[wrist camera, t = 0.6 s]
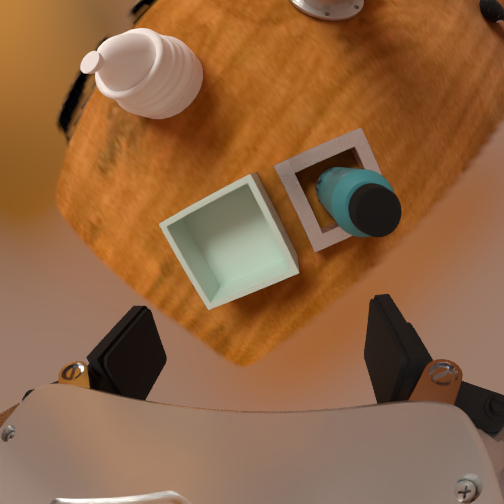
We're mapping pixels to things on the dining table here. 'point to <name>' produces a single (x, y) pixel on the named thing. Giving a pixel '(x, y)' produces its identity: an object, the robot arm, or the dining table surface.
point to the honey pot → (146, 73)
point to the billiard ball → (492, 10)
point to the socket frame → (303, 160)
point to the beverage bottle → (359, 201)
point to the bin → (232, 242)
